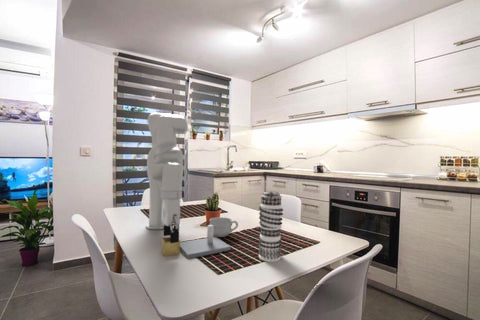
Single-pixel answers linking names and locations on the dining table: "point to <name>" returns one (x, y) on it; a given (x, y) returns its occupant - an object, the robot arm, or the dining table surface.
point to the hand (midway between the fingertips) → (170, 238)
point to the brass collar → (169, 247)
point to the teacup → (222, 226)
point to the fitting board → (203, 245)
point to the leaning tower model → (270, 226)
